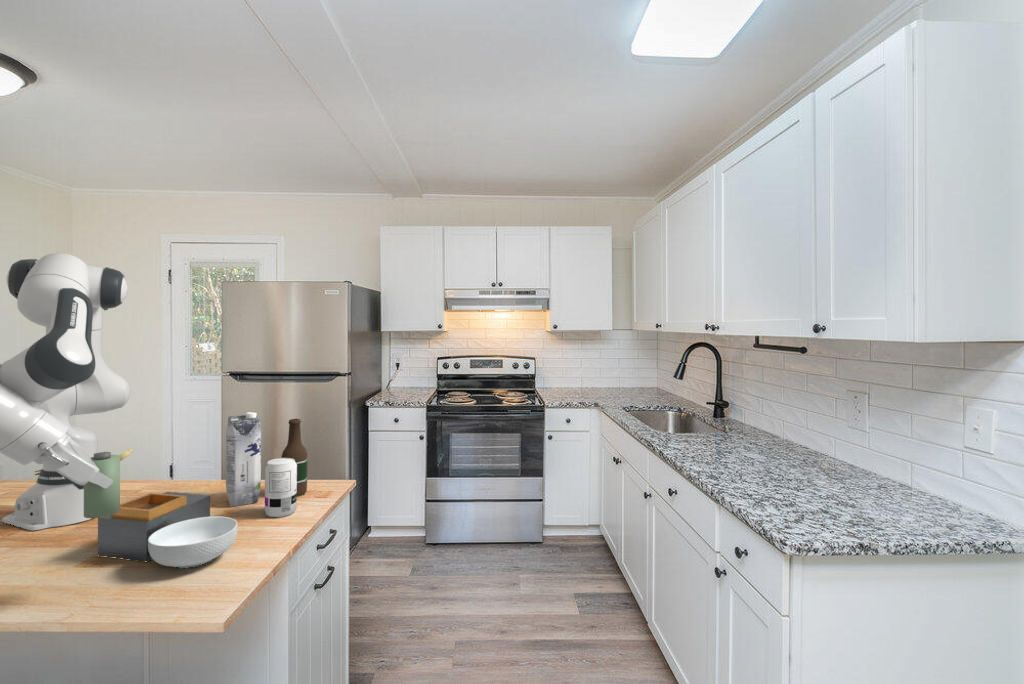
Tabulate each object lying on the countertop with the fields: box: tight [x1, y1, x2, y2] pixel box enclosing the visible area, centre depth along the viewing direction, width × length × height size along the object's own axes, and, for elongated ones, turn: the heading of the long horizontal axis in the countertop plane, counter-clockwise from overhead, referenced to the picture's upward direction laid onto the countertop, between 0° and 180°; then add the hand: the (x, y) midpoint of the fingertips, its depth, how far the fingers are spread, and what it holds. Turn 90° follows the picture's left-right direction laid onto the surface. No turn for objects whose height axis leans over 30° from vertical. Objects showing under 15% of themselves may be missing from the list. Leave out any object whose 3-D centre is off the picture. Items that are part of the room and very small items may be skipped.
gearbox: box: [97, 491, 211, 562], centre depth 117 cm, size 16×18×11 cm
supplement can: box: [264, 457, 298, 518], centre depth 136 cm, size 8×8×15 cm
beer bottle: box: [280, 418, 308, 497], centre depth 152 cm, size 8×8×24 cm
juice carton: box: [225, 411, 262, 508], centre depth 145 cm, size 9×10×27 cm
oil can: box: [84, 448, 133, 519], centre depth 96 cm, size 8×6×12 cm
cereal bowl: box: [148, 516, 239, 569], centre depth 108 cm, size 17×17×7 cm
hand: (106, 480), depth 95 cm, fingers closed on oil can, 5 cm apart
